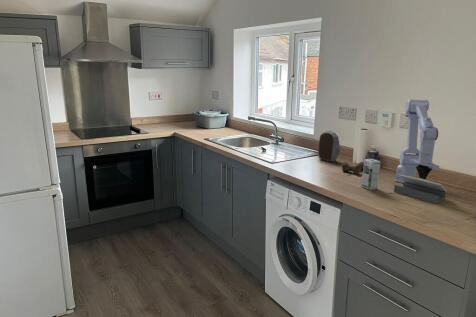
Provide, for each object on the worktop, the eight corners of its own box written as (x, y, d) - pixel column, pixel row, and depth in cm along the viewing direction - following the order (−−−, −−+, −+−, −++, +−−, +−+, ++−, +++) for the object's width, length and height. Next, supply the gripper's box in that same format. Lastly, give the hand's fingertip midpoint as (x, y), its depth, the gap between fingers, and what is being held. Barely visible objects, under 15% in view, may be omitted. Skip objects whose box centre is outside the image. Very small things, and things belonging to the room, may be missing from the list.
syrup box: (360, 186, 186) (363, 159, 182) (369, 185, 188) (372, 158, 184) (368, 190, 180) (371, 161, 177) (377, 188, 183) (381, 160, 179)
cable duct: (393, 191, 178) (394, 185, 178) (403, 188, 184) (404, 181, 184) (436, 203, 163) (437, 196, 162) (445, 199, 169) (446, 192, 169)
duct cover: (397, 174, 177) (398, 172, 177) (404, 181, 184) (405, 179, 184) (440, 185, 162) (441, 183, 162) (446, 192, 169) (447, 190, 169)
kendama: (370, 171, 217) (352, 176, 204) (355, 168, 224) (337, 173, 211) (371, 162, 216) (353, 166, 202) (356, 159, 223) (338, 163, 209)
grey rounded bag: (315, 159, 243) (317, 129, 238) (322, 157, 248) (325, 128, 244) (334, 163, 232) (336, 132, 227) (341, 161, 237) (344, 131, 232)
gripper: (446, 156, 164) (441, 184, 167) (420, 150, 178) (416, 176, 181) (434, 156, 162) (430, 185, 165) (409, 150, 175) (405, 177, 178)
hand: (422, 181), depth 173 cm, fingers closed, pressing on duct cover
